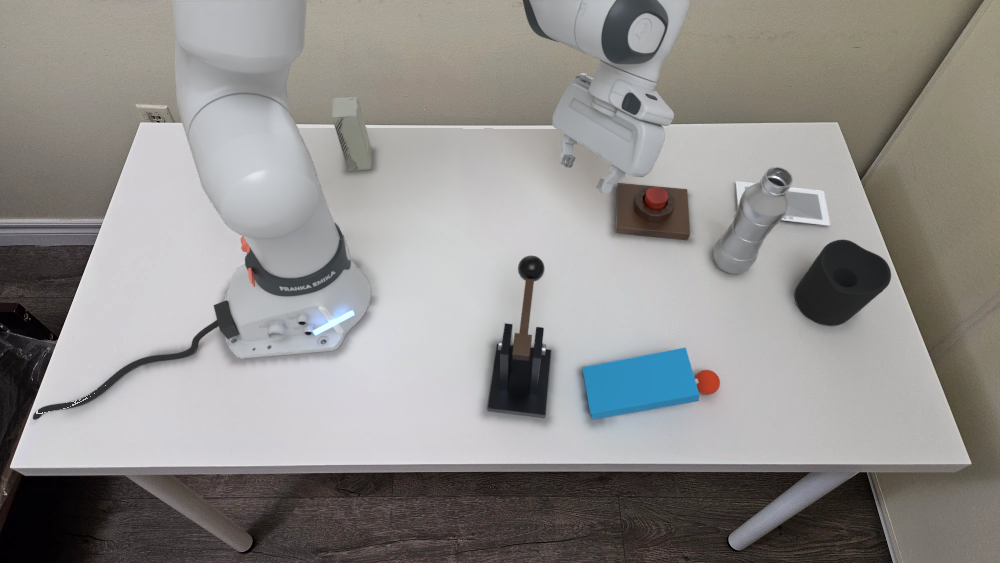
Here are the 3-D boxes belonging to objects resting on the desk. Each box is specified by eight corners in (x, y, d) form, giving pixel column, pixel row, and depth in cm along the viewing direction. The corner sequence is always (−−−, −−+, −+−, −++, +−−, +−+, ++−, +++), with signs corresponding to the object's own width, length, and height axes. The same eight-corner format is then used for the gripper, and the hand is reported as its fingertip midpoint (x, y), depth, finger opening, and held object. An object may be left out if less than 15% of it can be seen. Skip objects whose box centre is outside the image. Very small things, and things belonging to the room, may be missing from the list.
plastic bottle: (747, 246, 95) (799, 160, 78) (752, 281, 92) (808, 197, 75) (707, 243, 96) (751, 156, 79) (711, 277, 92) (758, 194, 75)
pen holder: (807, 333, 86) (839, 298, 78) (781, 281, 91) (809, 243, 83) (865, 324, 87) (904, 289, 79) (836, 273, 92) (869, 235, 84)
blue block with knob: (597, 429, 83) (726, 407, 80) (590, 414, 77) (728, 389, 74) (589, 384, 87) (712, 362, 83) (582, 367, 81) (713, 341, 78)
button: (644, 209, 96) (646, 202, 94) (643, 192, 98) (646, 185, 96) (665, 211, 95) (668, 204, 94) (665, 194, 97) (667, 187, 96)
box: (349, 152, 108) (331, 96, 97) (372, 150, 108) (358, 94, 97) (348, 172, 105) (330, 117, 94) (372, 170, 105) (357, 115, 94)
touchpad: (733, 185, 103) (737, 176, 101) (820, 195, 101) (826, 186, 99) (736, 219, 98) (740, 210, 97) (827, 229, 97) (833, 221, 95)
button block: (615, 233, 97) (618, 220, 94) (616, 189, 102) (619, 175, 99) (687, 240, 96) (693, 227, 93) (684, 195, 101) (690, 181, 98)
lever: (519, 261, 80) (519, 249, 77) (545, 263, 80) (546, 252, 76) (507, 359, 74) (506, 352, 71) (534, 363, 74) (535, 355, 71)
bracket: (497, 347, 85) (496, 302, 75) (550, 353, 85) (557, 309, 74) (487, 411, 80) (485, 373, 69) (544, 418, 79) (551, 381, 69)
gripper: (562, 64, 88) (530, 149, 94) (654, 112, 75) (610, 206, 81) (590, 73, 92) (558, 154, 98) (683, 119, 79) (639, 209, 85)
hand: (582, 178), depth 89 cm, fingers open, 8 cm apart
